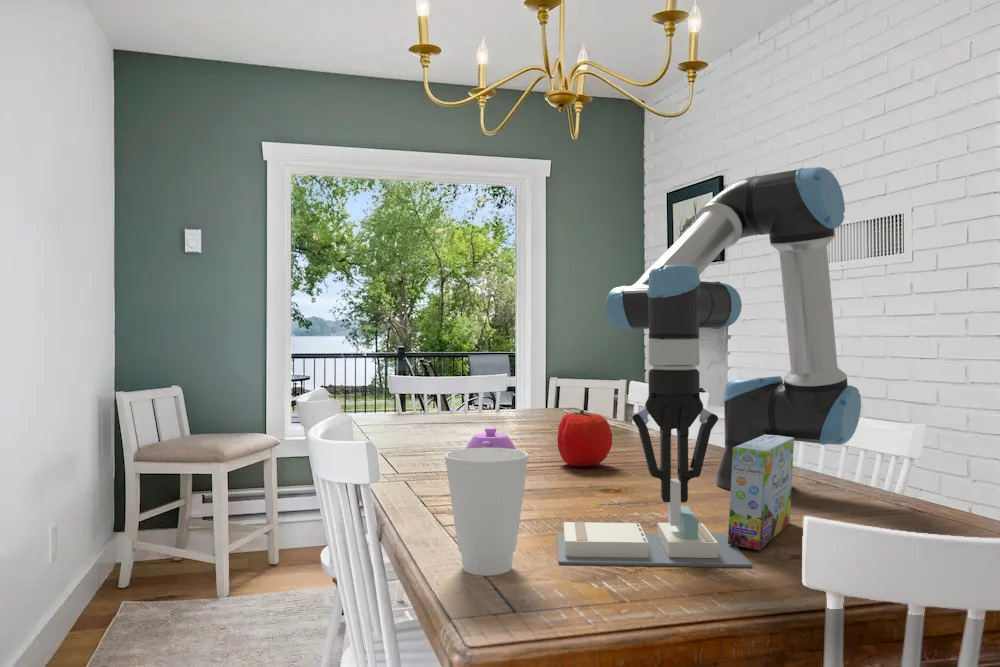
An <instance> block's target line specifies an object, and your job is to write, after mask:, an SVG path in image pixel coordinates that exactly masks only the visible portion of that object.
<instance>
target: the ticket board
mask: <svg viewBox="0 0 1000 667" xmlns="http://www.w3.org/2000/svg"><path fill="white" fill-rule="evenodd" d="M642 527H643V526H641V523H639V522H593V521H592V522H590V521H589V522H586V521H585V522H583V521H582V522H581V521H580V522H579V521H576V522H575V521H574V522H573V521H572V522H571V521H570V522H569V521H568V522H567V521H563V531H556V532H557V533H556V534H557V535H556V536H557V560H558V563H557V564H558V565H571V566H572V565H573V566H574V565H575V566H576V565H579V566H581V565H582V566H634V567H635V566H636V567H637V566H640V567H641V566H642V567H643V566H645V567H647V566H649V567H695V568H696V567H700V568H703V567H704V568H706V567H707V568H708V567H709V568H716V567H717V568H752V567H753V564H752V563H751V562H750V561H749V559H748V558H747V557H746V556H745V555H744V553H743V552H742V551H741V550H740V549H739V547H738V546H735V545H731V544H728V535H727V534H726V533H711V535H712V536H713V537H714V538H715V540H716V541H717V542H718V558H684V557H668V555H667V553H666V551H665V550H664V548H663V546H662V544H661V542H660V540H659V538H658V532H644V530H643V528H642Z"/></svg>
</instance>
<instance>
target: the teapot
mask: <svg viewBox="0 0 1000 667" xmlns="http://www.w3.org/2000/svg"><path fill="white" fill-rule="evenodd" d="M469 448H507V449H516V450H517V448H516V446H515V444H514V443H513V441H512V440H511V437H510V436H508V435H507V434H504V433H497V428H495V427H485V429H484V433H478V434H475V435H473V436H472V437H471V439H470V440H469V442H468V444H467V445H466V447H465V449H469Z"/></svg>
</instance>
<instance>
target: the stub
mask: <svg viewBox="0 0 1000 667" xmlns="http://www.w3.org/2000/svg"><path fill="white" fill-rule="evenodd" d="M657 533H658V538H659V540H660V542H661V544H662V546H663V548H664V550H665V551H666V553H667V555H668V557H684V558H718V542H717V541H716V540H715V538H714V537H713V536H712V535H711V534H712V533H711V532H710V531H709V530H708V529H707V526H705V524H704V523H703V522H699V518H698V517H697V516H696V514H695V513H694V512H693V511H692V509H691V508H690V507H689V506H688V505H686V506H685V505H684V506H683V505H681V526H671V525H670V523H669V522H657Z"/></svg>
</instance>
